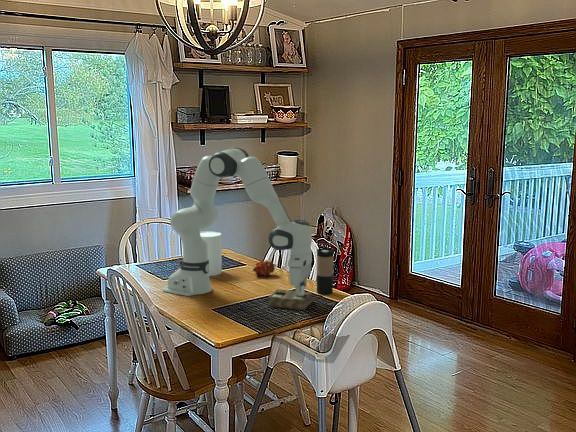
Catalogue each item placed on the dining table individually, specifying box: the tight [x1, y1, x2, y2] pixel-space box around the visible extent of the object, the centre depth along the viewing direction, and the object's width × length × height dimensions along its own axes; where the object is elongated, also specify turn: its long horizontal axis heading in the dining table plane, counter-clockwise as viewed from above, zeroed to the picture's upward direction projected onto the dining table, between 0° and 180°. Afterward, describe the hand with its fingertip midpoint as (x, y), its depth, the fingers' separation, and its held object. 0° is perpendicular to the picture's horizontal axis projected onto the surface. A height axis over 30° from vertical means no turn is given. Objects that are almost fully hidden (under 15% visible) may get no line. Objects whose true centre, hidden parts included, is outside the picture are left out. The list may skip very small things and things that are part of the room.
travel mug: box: [316, 247, 335, 296], centre depth 275 cm, size 8×8×20 cm
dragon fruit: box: [252, 259, 276, 277], centre depth 304 cm, size 8×8×12 cm
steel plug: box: [297, 282, 306, 298], centre depth 258 cm, size 3×3×10 cm
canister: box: [200, 231, 223, 277], centre depth 308 cm, size 14×14×20 cm
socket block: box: [267, 288, 313, 311], centre depth 260 cm, size 16×12×4 cm
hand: (300, 290), depth 258 cm, fingers open, 7 cm apart
